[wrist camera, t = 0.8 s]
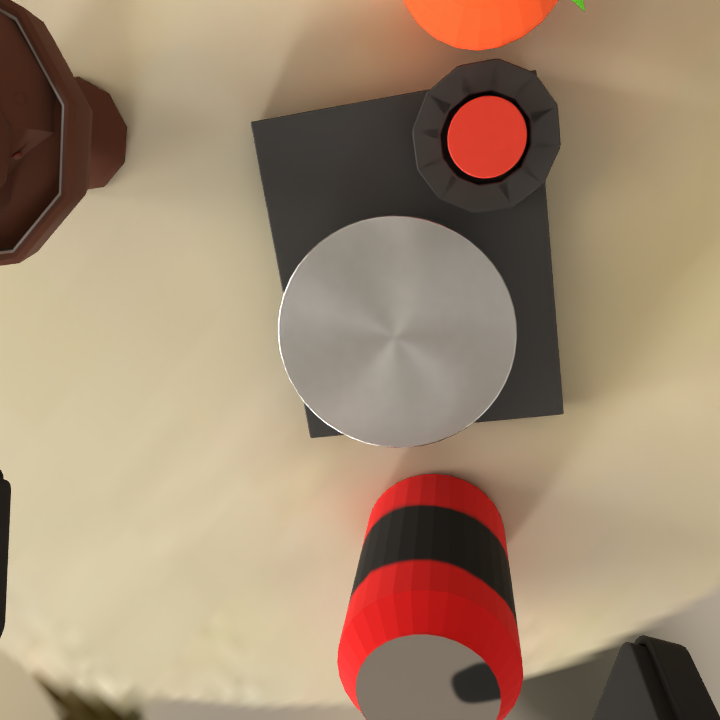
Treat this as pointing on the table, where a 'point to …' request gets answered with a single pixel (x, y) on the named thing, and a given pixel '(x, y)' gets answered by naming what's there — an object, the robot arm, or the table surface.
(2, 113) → the ice cream bowl
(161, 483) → the table surface
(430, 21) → the clementine
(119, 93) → the table surface
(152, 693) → the table surface
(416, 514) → the soda can
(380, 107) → the scale
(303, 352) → the pan
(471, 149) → the button
